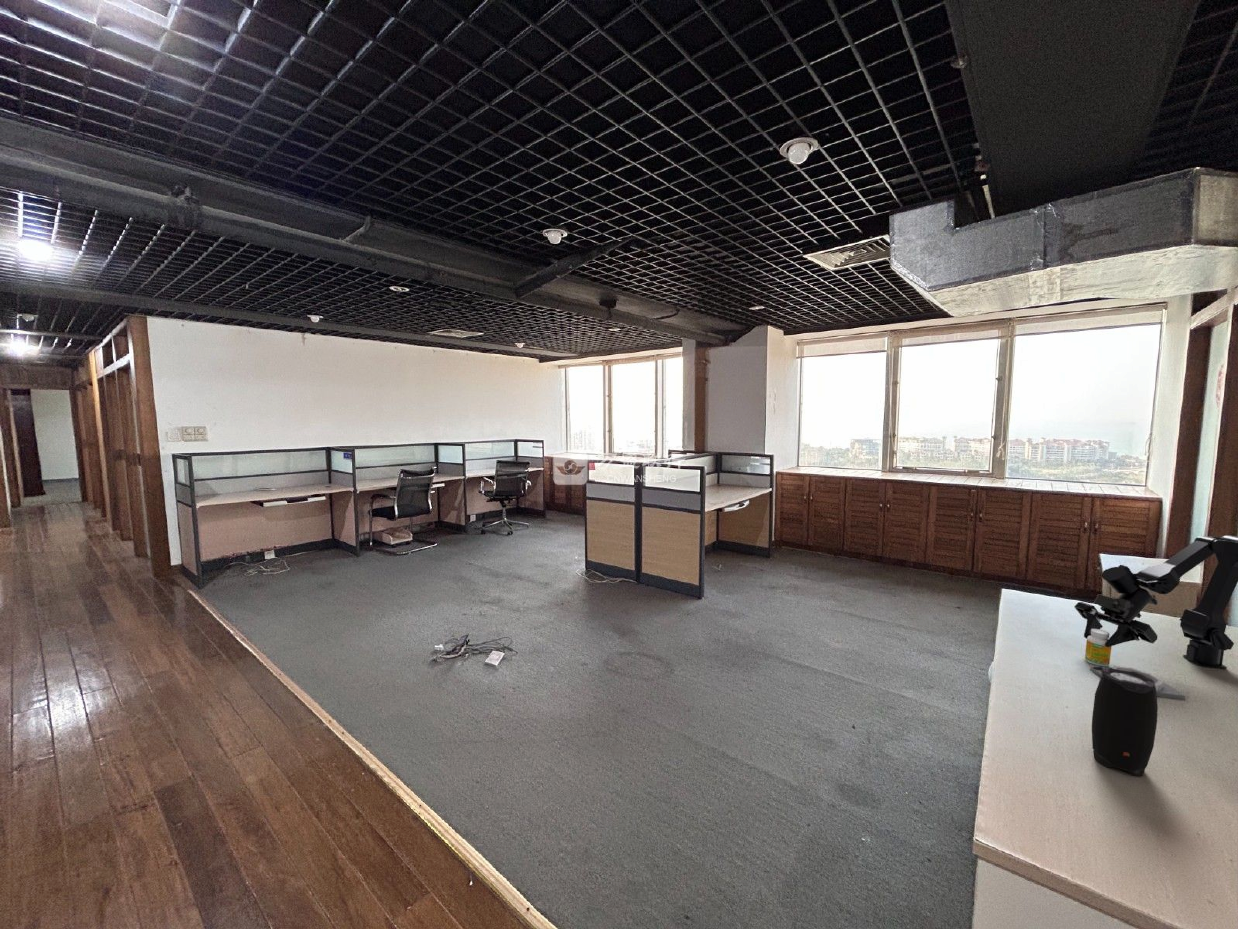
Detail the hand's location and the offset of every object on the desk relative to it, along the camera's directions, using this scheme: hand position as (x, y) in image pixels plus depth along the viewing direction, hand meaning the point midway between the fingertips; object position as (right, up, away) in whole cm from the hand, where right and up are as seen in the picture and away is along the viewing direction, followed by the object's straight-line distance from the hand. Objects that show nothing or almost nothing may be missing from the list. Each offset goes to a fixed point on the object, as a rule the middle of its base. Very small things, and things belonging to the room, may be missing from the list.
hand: (1095, 641), depth 149 cm
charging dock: (0, -8, -11) cm, 14 cm away
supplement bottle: (+1, -7, +1) cm, 7 cm away
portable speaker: (-37, -10, -44) cm, 58 cm away
